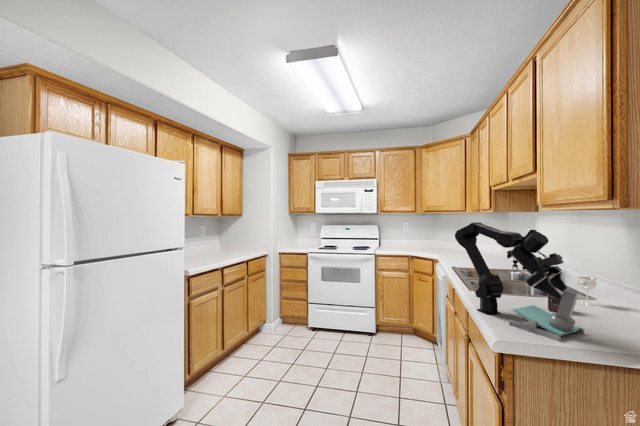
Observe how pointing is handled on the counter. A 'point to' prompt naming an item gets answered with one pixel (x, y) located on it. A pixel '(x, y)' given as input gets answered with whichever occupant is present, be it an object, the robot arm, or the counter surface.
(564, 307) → the gray metal handle
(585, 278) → the wineglass
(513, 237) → the robot arm
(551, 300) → the box
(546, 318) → the trapdoor
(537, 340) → the counter surface
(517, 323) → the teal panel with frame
